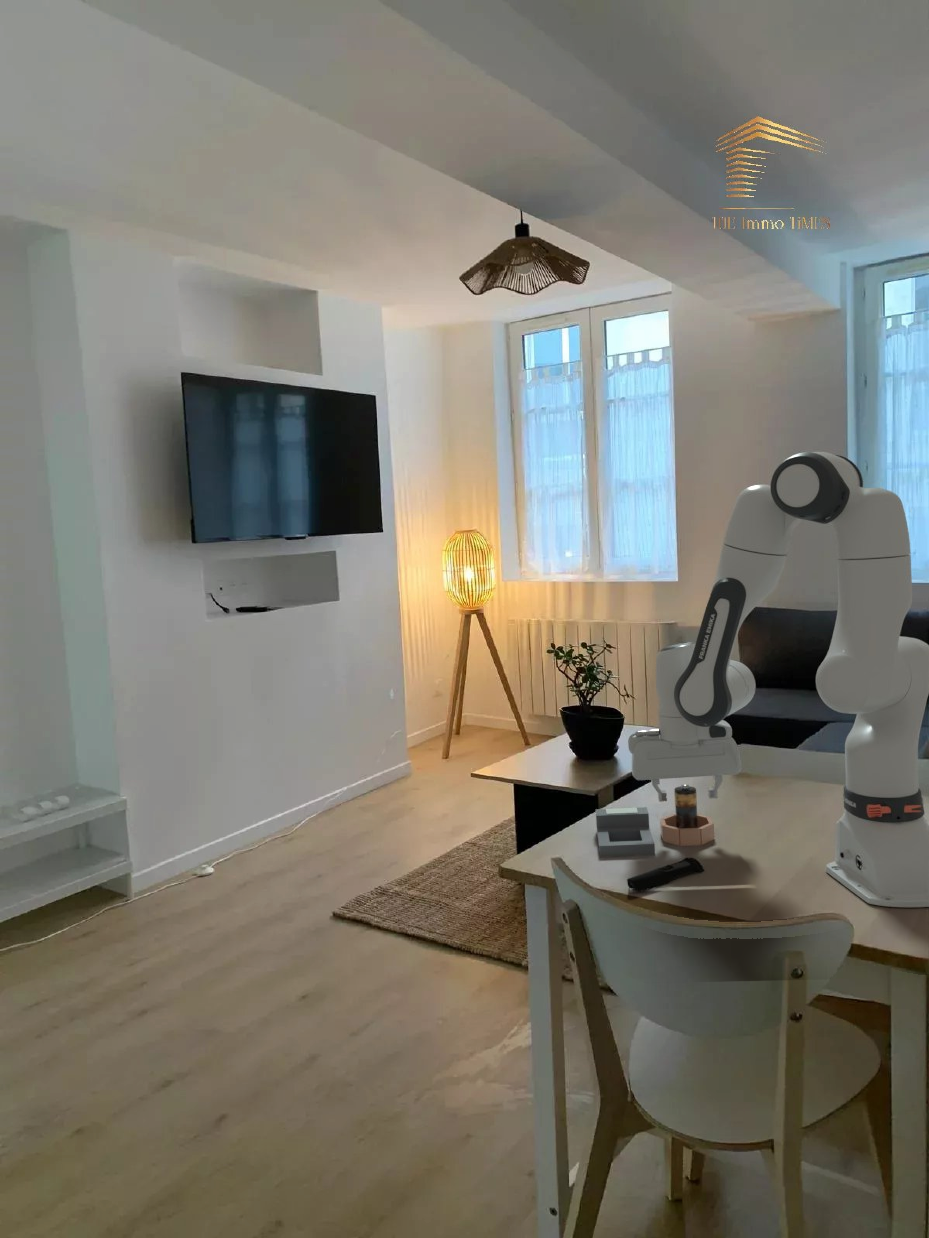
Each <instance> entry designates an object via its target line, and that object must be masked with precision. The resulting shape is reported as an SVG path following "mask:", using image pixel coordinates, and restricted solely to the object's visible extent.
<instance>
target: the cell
mask: <svg viewBox="0 0 929 1238" xmlns="http://www.w3.org/2000/svg"><path fill="white" fill-rule="evenodd" d="M673 792H674V806H675V808H674V809H675V814H676V828H680V829H682V828H698V820H697V814H698V799H697V797H698V796H697V795H698V794H697V788H696V787H694V786H690V785H689V783H683V784H681V786H676V787H675V788H674V791H673Z"/></svg>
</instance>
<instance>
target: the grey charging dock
mask: <svg viewBox="0 0 929 1238" xmlns="http://www.w3.org/2000/svg"><path fill="white" fill-rule="evenodd" d="M649 815H650V813H649V811H648V808H647V806H646V807H645V806H644V807H643V806H642V807H621V808H620V807H619V808H616V807H615V808H598V809H597V808H596V809H595V821H596V834H597V835H596V837H597V843H598V852H599V858H601V857H603V858H604V857H627V856H628V857H630V856H631V857H634V856H636V857H637V856H655V855H656V849H655V848H656V847H655V845H656V844H655V842H654V838H653V835H652V831H651V827H650V816H649Z"/></svg>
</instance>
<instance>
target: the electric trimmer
mask: <svg viewBox="0 0 929 1238" xmlns="http://www.w3.org/2000/svg"><path fill="white" fill-rule="evenodd" d="M704 871H705V869H704V866H703V865H702V864H701V863H700V861H698V860H697V858H693V857H685V858H683V859H682V860H681V861H677V862H673V863H671V864H667V865H664V866H662V867H658V868H655V869H653V870H650V871H647V872H644V873H641V874H637V875H635V876H632V877H629V878H627V880H626V882H627V886H628V888H629V889H632V890H634V891H636V892H641V891H646V890H651V889H656V888H658V887H661V886H665V885H668V884H670V882H671V881H674V880H677V879H680V878H685V877H687V876H689V875H692V874H697V873H699V874H701V873H703V872H704Z"/></svg>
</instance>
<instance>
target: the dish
mask: <svg viewBox="0 0 929 1238" xmlns="http://www.w3.org/2000/svg"><path fill="white" fill-rule="evenodd" d="M697 820H698V828H682V829H680V828H676V813H671V814H669V815H667V816H665V817H664V816H663V817H661V818H660V819H659V826H660V836H661V839H662V842H664V843H669V844H672V845H675V846H678V847H679V846H681V847H683V846H684V847H686V846H703V845H705V844H707V843H709V842H712V841H714V840H715V824H714V821H713V820H712V817H711V816H707V815H704V814H700V813H697Z"/></svg>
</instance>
